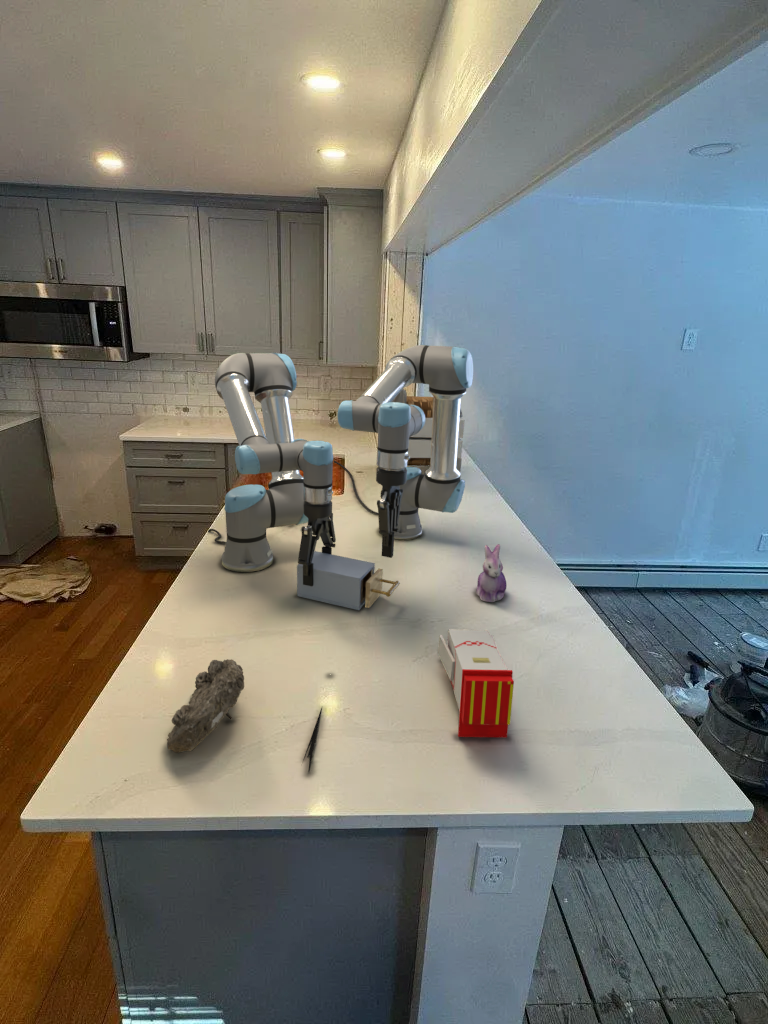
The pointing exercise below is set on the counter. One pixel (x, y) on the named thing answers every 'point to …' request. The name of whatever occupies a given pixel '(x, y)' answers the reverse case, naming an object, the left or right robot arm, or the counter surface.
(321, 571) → the cabinet
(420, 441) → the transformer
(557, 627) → the counter surface
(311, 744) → the feather
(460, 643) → the toy
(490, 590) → the figurine
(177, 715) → the fossil
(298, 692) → the counter surface
